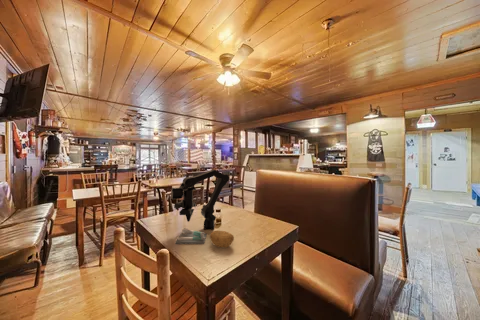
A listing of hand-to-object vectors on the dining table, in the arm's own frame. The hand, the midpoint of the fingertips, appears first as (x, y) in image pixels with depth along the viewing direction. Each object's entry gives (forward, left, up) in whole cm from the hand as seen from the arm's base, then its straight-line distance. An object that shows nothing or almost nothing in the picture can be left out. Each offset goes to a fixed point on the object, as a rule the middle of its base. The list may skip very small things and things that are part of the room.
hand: (188, 221), depth 118 cm
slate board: (-4, +10, -7) cm, 13 cm away
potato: (-22, +18, -8) cm, 29 cm away
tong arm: (-5, +9, -5) cm, 11 cm away
